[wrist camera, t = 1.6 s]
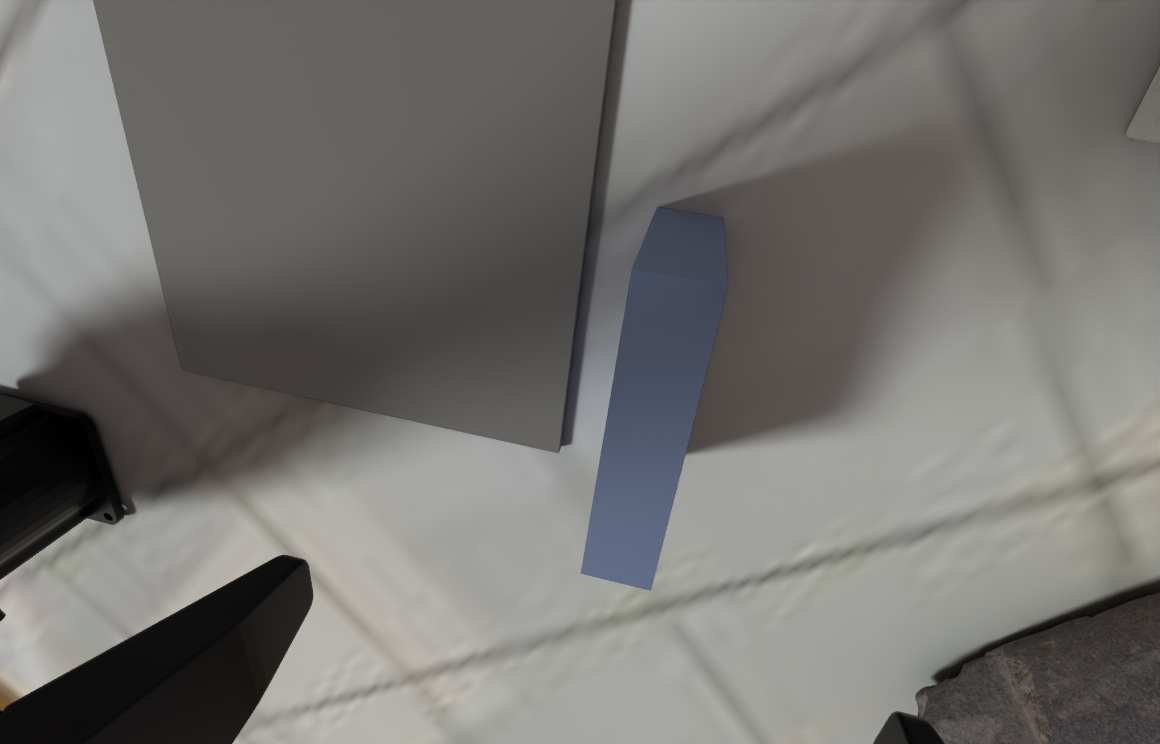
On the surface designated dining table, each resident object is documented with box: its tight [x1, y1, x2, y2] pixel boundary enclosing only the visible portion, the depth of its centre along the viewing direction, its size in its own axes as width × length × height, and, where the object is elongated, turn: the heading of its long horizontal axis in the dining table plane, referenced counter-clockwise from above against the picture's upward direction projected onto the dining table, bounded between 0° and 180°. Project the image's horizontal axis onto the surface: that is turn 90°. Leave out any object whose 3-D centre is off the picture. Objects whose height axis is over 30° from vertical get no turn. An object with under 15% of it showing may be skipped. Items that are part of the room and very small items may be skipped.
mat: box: [93, 0, 617, 453], centre depth 19 cm, size 18×16×1 cm
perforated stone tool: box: [915, 593, 1160, 744], centre depth 19 cm, size 15×5×7 cm, turn 139°
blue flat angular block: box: [581, 207, 728, 591], centre depth 17 cm, size 9×2×6 cm, turn 173°
